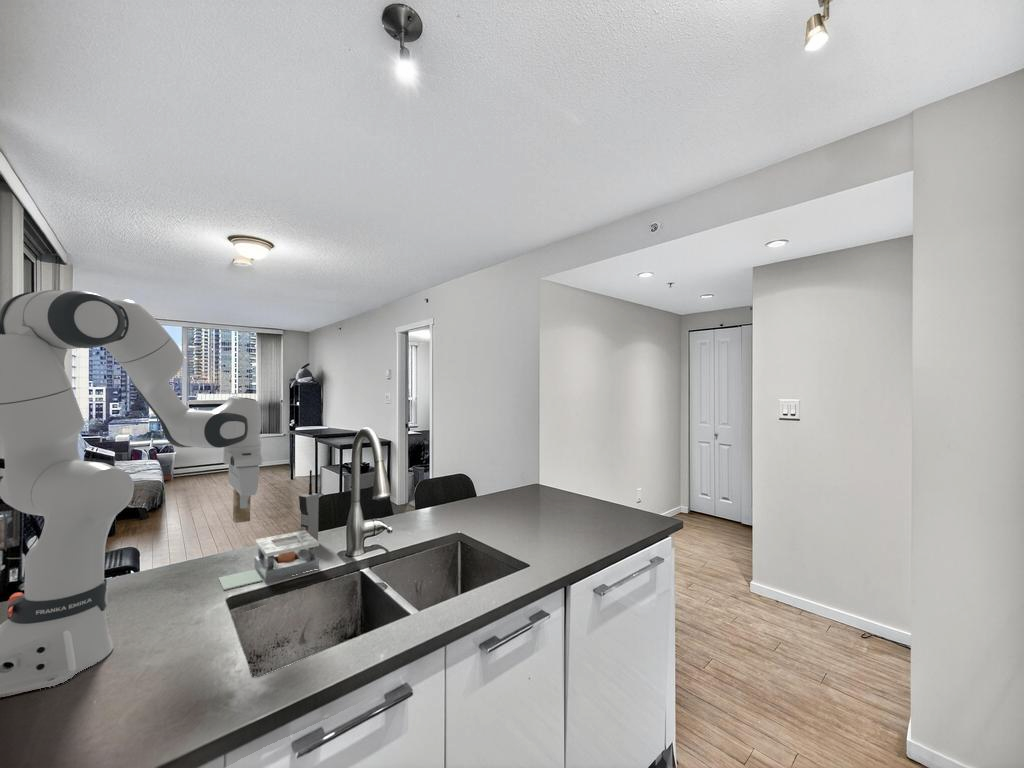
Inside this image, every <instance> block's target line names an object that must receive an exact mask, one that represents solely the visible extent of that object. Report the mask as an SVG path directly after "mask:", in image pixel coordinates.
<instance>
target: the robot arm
mask: <svg viewBox="0 0 1024 768" xmlns="http://www.w3.org/2000/svg"><path fill="white" fill-rule="evenodd" d="M98 347H102V348H104V349H105V350H107V352H108V353H109V354H110V355H111V356H112V357H113V359H114V360H115V362H117V363H118V365H120V367H121V368H123V370H124V371H125V373H126V374H127V375H128V376H129V379H130V382H131V383H132V385H133V387H134V389H135V390H136V391H137V393H138V394H139V396H140V397H141V398H142V399H143V401H144V403H145V404H146V405H147V407H148V408H149V409H150V410H151V411H152V413H153V414H154V415H155V417H156V418H157V419H158V421H159V423H160V426H161V429H162V432H163V435H164V437H165V438H166V441H168V443H170V444H171V445H173V446H174V447H177V448H202V449H203V448H204V449H222V448H223V464H226V465H228V477H227V479H228V484H229V485H230V486H231V487H232V488H233V490H234V489H235V490H236V491H237V492H238V493H239V496H240V501H239V507H240V508H241V509H242V508H247V507H248V499H249V496H250V495H251V496H255V495H257V492H258V489H259V478H260V466H262V465H263V459H262V448H261V447H262V442H261V438H260V433H261V431H262V411H261V406H260V403H259V402H258V400H256V399H254V398H250V397H243V396H242V397H241V396H231V397H228V398H227V400H226V401H225V402H224V403H222V404H221V405H220V406H217V407H215V408H212V409H211V410H202V409H195V408H192V407H189V406H187V405H185V404H184V403H183V402H182V400H181V399H180V397H179V395H178V394H177V393H176V391H175V390H174V389H173V387H172V386H171V384H170V380H172V379H173V378H174V377H175V376H177V374H178V373H179V372H180V371H181V369H182V367H183V365H184V364H183V363H184V355H183V353H182V350H181V348H180V347H179V346H178V344H177V342H176V341H175V340H174V339H173V338H172V335H170V334H169V332H167V330H166V329H165V328H164V326H163V325H162V324H161V323H160V322H159V321H158V320H157V319H156V318H155V317H154V316H152V315H151V314H150V312H148V310H146V309H145V308H144V307H143V306H141V305H140V304H139V303H137V302H136V301H133V300H131V299H113V300H110V299H108V298H107V297H104V296H102V295H100V294H98V293H94V292H89V291H85V290H72V291H71V290H64V289H63V290H62V289H61V290H60V289H47V290H40V291H30V292H29V291H28V292H24V293H20V294H18V295H17V294H16V295H15V296H13V297H11V298H9V299H8V300H7V301H6V302H5V303H4V304H3V306H2V307H1V309H0V441H1V444H2V449H3V456H4V457H3V458H4V475H3V477H2V478H1V480H0V498H1V500H2V501H3V503H5V505H8V506H10V507H11V508H13V509H15V510H17V511H19V512H20V513H23V514H27V515H33V516H41V517H43V518H44V521H43V527H42V531H41V534H40V536H39V539H38V540H37V543H35V545H34V546H33V547H31V548H30V549H29V551H28V552H26V555H25V558H24V593H23V592H14V593H13V594H11V595H10V596H9V599H8V601H7V611H6V612H7V613H6V614H7V619H6V620H5V621H3V623H1V624H0V695H1V694H5V693H11V692H17V691H25V690H30V689H34V688H39V687H44V686H49V685H54V684H59V683H63V682H64V681H67V680H68V679H70V678H71V677H72V676H74V675H75V674H77V673H78V672H79V673H81V672H83V671H85V670H86V668H87V669H88V667H89V668H90V666H91V667H92V666H94V665H96V664H98V663H99V662H101V661H102V660H104V659H105V658H106V657H108V656H109V654H111V652H112V651H113V649H114V642H113V640H112V637H111V634H110V631H109V627H108V623H107V616H106V608H107V604H108V593H109V592H108V588H109V586H108V581H107V578H105V562H106V561H105V559H106V544H107V539H108V535H109V533H110V530H111V527H112V525H113V522H114V520H115V519H116V516H118V514H120V513H121V512H122V511H123V510H124V509H125V508H127V506H128V505H129V504H130V502H131V501H132V498H133V496H134V491H135V490H134V489H135V485H134V480H133V478H132V477H131V475H130V474H129V473H128V472H126V471H125V470H123V469H121V468H119V467H116V466H114V465H111V464H108V463H105V462H98V461H87V460H83V459H82V457H81V456H80V454H79V447H78V446H79V445H78V443H79V442H78V439H79V435H80V434H81V432H82V431H83V430H84V427H85V420H84V417H83V415H82V411H81V408H80V406H79V403H78V401H77V398H76V395H75V393H74V389H73V387H72V385H71V382H70V379H69V376H68V375H67V373H66V370H65V369H66V367H65V360H66V355H67V352H68V350H72V349H75V350H77V349H93V348H98ZM97 662H98V663H97ZM84 669H85V670H84ZM82 670H83V671H82ZM80 671H81V672H80ZM79 673H78V674H79ZM78 674H77V675H78ZM75 676H76V675H75ZM75 676H74V677H75ZM71 679H72V678H71ZM71 679H70V680H71ZM67 682H68V681H67ZM63 684H64V683H63Z"/></svg>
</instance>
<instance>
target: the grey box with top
mask: <svg viewBox="0 0 1024 768" xmlns="http://www.w3.org/2000/svg"><path fill="white" fill-rule="evenodd" d="M291 540H297V542H294V543H290V544H285V545H280V546H276V544H277V543H282V542H285V541H291ZM275 543H276V544H275ZM254 544H255V545H256V547H258V555H255V556H254V568H255V570H256V571H257V573H258V574H259V576H260V577H261V579H262V581H263V582H264V583H265V584H267V583H269V582H270V581H271V582H274V580H275V581H279V580H283V579H286V578H285V577H287V578H290V577H289V576H291V577H293V576H292V575H295V576H297V575H296V574H299V573H303V572H306V571H310V570H314V569H318V568H319V567H320V559H319V558H318V557H317V556H316V547H320V542H319V540H318V541H317V540H316V539H315V538H313V537H312V536H311V535H310V534H309V533H308V532H306V531H305V530H303V531H301V530H298V531H293V532H288V533H282V534H277V535H273V536H267V537H260V538H256V539H254ZM293 551H295V560H292V561H288V562H283V563H279V564H278V555H279V554H283V553H288V552H293ZM299 575H300V574H299ZM282 578H283V579H282ZM278 579H279V580H278ZM266 582H267V583H266Z"/></svg>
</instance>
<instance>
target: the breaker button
mask: <svg viewBox="0 0 1024 768" xmlns="http://www.w3.org/2000/svg"><path fill="white" fill-rule="evenodd" d="M292 560H295V551H293V552H288V553H283V554H279V555H278V564H279V563H283V562H288V561H292Z"/></svg>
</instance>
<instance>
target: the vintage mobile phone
mask: <svg viewBox="0 0 1024 768" xmlns="http://www.w3.org/2000/svg"><path fill="white" fill-rule="evenodd" d="M312 474H313V471H312V469H310V470H309V484H308V493H304V494H301V495H299V496H298V502H299V505H298V506H299V511H300V531H303V530H305V531H306V532H308V533H309V534H310V535H311V536H312V537H313V538H315V539H316V540H317V541H318V542H319V511H320V509H319V506H320V505H319V504H320V503H319V501H320V496H319V495H320V494H318V493H314V492H313V491H312V490H313V488H312V487H313V483H312V477H313V475H312Z"/></svg>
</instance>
